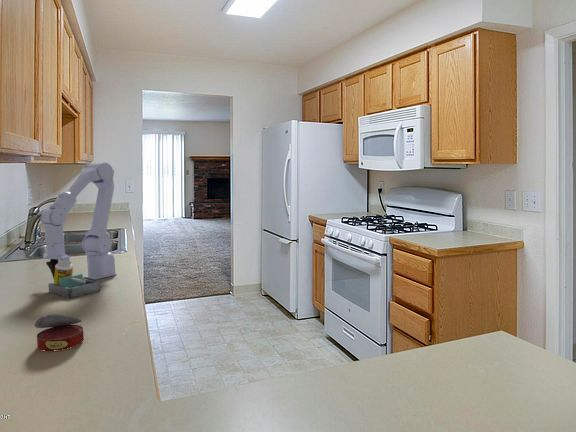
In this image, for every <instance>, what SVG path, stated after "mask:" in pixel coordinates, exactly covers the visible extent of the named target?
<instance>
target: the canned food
mask: <svg viewBox="0 0 576 432" xmlns="http://www.w3.org/2000/svg"><path fill="white" fill-rule="evenodd" d="M81 322H82V319H79V318H78V317H74V316H71V315H70V316H68V315H62V314H47V315H46V316H41V317H39V318H37V320H36V322H35V323H34V327H35V328H37V329H43V330H41V331H39V332H38V333H37V334H36V343H37V349H38V348H39V349H40V350H45V351H54V350H62V349H67V348H70V347H73V346H76V345H78V344H80V343H81V342H82V341H83V340H84V341H85V339H84V335H85V334H84V328H83V326H82V325H79V324H78V323H81ZM84 341H83V342H84ZM83 342H82V343H83ZM82 343H81V344H82ZM81 344H80V345H81ZM78 346H79V345H78ZM76 347H77V346H76ZM73 348H74V347H73ZM39 349H38V350H39ZM70 349H71V348H70ZM40 350H39V351H40ZM67 350H68V349H67ZM62 351H63V350H62Z"/></svg>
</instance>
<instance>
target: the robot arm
mask: <svg viewBox="0 0 576 432" xmlns="http://www.w3.org/2000/svg"><path fill="white" fill-rule="evenodd" d="M114 175H115V170H114V169H113V167H112V166H111V164H110V163H108V162H95V163H94V162H93V163H92V162H88V163H86V164H85V165H84V166H83V168H82V169H80V174H79V175H78V176H77V178H76V179H75V181H74V182H73V183H72V185H71V186H70V187H69V188H68V190H67V191H63V192H62V193H58V195H57V198H56V199H55V200H54V202H52V203H51V204H50V205H49V208H46V209H44V210H43V211H42V213H41V216H39V219H40V222H41V223H42V225H43V229H44V236H45V237H44V240H45V245H46V246H45V247H46V248H45V251H46V252H44V253H43V255H42V256H43V259H44V260H49V261H46V262H45V264H46V266H47V267H48V268H49V270H50V273H51V275H52V278H53V279H54V275H55V265H56V264H57V263H58V259H62V260H63V261H64V262H66V261H70V259H71V258H70V256H69V255H67V254H66V250H65V249H66V248H65V235H64V223H66V221H67V215H68V213H69V212H70V211H71V210H72V208H74V206H75V204H77V196H79V195H80V194H81V193H82V192H83V190H85V188H86V187H87V186H88V185H89V183H92V184H94V185H95V186H96V187H97V194H96V195H97V196H96V200H95V206H94V211H93V216H92V222H91V226H90V229H88V230H87V232H86V233H85V236H84V238H83V239H82V242H81V248H82V250H83V251H84V252H85V255H86V261H87V263H86V264H87V275H86V274H85V275H84V276H83V278H84V279H88V280H93V281H96V280H99V279H104V278H108V277H112V276H116V275H117V272H116V262H115V256H114V254H113V253H112V252H109V251H110V249H111V246H112V245H111V244H112V243H111V234H110V233H109V232H108V231H107V228H108V224H109V223H108V222H109V217H110V212H111V207H112V202H113V201H112V200H113V195H114V192H115V191H114V189H115V183H114V182H115V181H114Z"/></svg>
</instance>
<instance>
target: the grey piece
mask: <svg viewBox="0 0 576 432" xmlns="http://www.w3.org/2000/svg"><path fill="white" fill-rule="evenodd" d="M83 280H85V281H86V283H85V284H84V283H83V285H82V286H78V287H73V288H68V287H64V286H61V285H57V284H54V282H52V283H51V282H49V283H48V292H49V293H50V294H53V295H56V296H57V295H58V296H60V297H65V298H67V299H73V298H76V297H82V296H85V295H88V294H93V293H97V292H100V291H101V283H100V281H96V280H94V279H89V278H85V277H83Z"/></svg>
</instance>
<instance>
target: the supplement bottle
mask: <svg viewBox="0 0 576 432" xmlns="http://www.w3.org/2000/svg"><path fill="white" fill-rule="evenodd" d="M73 270H74V265H73V263H72V260H71V258H70V261H66V262H64V261H63V260H62V259H58V263H57V264H56V265H55V275H54V278H53V284H57V285H59V278H64V277H69V276H73V272H74V271H73Z"/></svg>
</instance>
